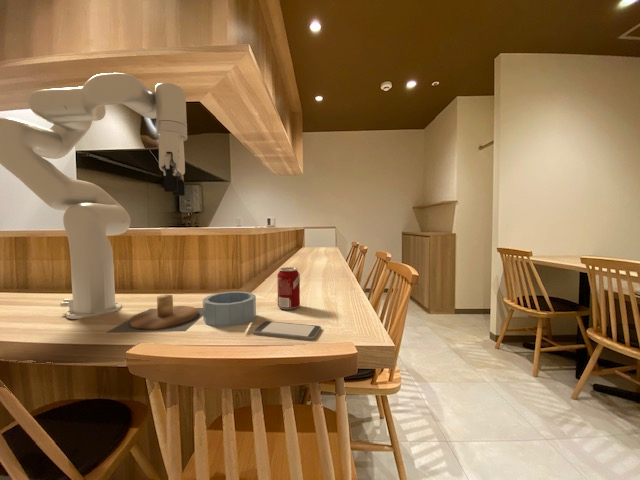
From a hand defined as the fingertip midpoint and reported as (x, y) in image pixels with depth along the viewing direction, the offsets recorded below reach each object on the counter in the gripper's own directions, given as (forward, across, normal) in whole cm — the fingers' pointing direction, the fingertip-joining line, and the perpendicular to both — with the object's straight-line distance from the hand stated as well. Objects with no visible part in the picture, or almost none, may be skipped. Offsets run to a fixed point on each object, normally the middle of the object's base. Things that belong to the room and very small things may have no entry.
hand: (175, 193), depth 79 cm
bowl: (+34, +10, +14) cm, 39 cm away
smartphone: (+35, +23, +27) cm, 50 cm away
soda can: (+35, +4, +31) cm, 47 cm away
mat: (+34, +6, -2) cm, 35 cm away
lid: (+34, +6, -2) cm, 34 cm away
